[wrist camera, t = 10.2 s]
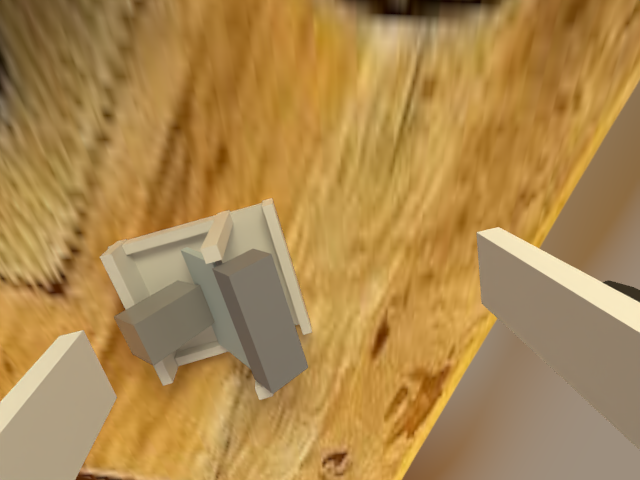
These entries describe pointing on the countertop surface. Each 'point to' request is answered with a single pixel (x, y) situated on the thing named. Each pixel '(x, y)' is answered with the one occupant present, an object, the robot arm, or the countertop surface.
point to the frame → (216, 246)
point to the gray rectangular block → (165, 321)
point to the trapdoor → (251, 314)
